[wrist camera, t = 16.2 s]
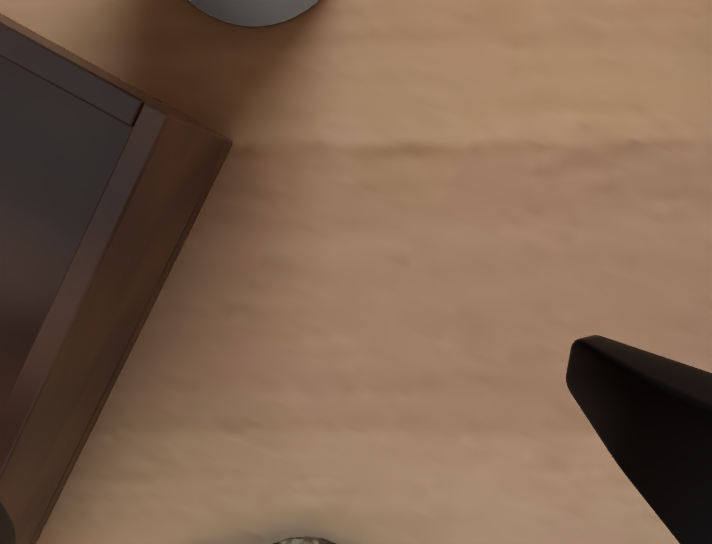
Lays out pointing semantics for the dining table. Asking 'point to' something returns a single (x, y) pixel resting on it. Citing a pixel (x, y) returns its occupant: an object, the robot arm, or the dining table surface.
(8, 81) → the brown wooden open box
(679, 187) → the dining table surface
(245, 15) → the canister
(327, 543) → the bread roll
